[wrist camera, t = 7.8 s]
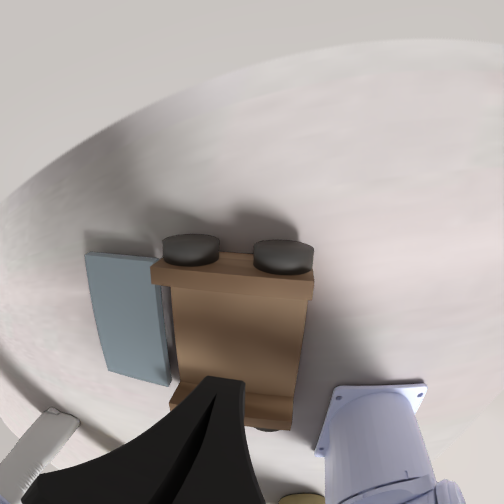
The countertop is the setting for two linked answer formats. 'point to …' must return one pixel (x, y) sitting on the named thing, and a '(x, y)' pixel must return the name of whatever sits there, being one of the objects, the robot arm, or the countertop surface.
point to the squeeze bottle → (302, 499)
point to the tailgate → (129, 316)
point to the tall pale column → (34, 452)
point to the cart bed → (239, 319)
